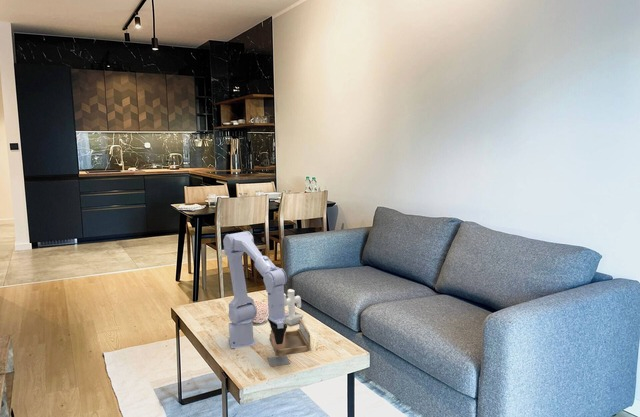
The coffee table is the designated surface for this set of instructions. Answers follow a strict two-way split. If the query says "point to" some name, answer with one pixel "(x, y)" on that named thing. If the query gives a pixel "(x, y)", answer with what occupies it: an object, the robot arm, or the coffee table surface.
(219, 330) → the coffee table surface
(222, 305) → the coffee table surface
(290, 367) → the coffee table surface
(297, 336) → the cold frame
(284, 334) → the pot
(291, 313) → the figurine
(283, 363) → the tile
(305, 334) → the lid
